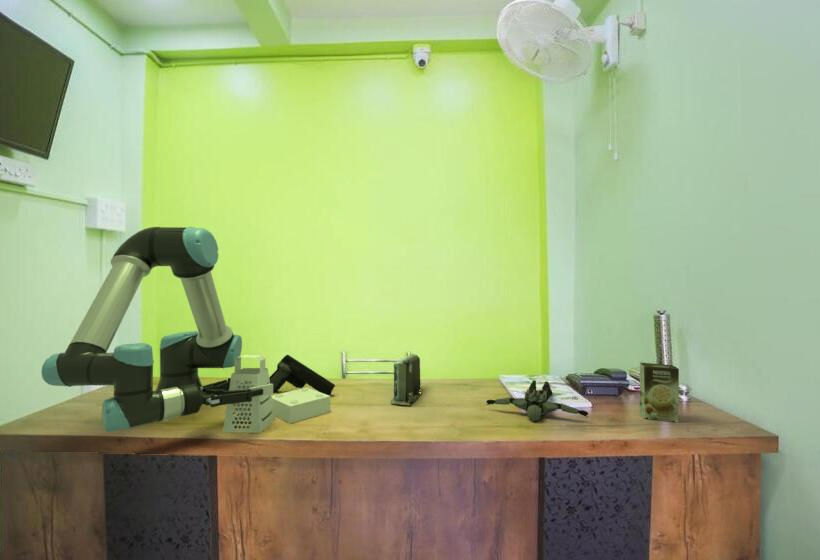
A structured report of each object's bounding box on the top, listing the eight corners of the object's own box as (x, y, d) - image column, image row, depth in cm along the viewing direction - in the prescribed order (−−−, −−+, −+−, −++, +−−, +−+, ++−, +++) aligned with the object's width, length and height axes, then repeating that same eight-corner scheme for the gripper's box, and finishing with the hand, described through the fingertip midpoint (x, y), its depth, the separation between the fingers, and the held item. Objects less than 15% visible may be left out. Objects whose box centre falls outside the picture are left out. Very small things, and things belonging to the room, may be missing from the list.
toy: (498, 390, 147) (482, 422, 120) (498, 369, 147) (481, 396, 119) (585, 400, 136) (589, 437, 108) (585, 377, 135) (589, 408, 108)
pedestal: (268, 412, 122) (268, 395, 122) (306, 402, 133) (306, 386, 133) (290, 423, 113) (290, 405, 113) (330, 411, 123) (330, 395, 123)
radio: (410, 387, 152) (410, 349, 152) (430, 389, 149) (430, 350, 149) (385, 404, 130) (385, 360, 130) (408, 407, 127) (408, 362, 127)
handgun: (314, 421, 140) (333, 386, 138) (262, 385, 144) (279, 351, 143) (317, 418, 142) (335, 384, 141) (265, 384, 146) (283, 350, 145)
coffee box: (643, 419, 117) (643, 366, 117) (638, 412, 123) (638, 362, 123) (679, 422, 114) (679, 368, 114) (672, 415, 120) (672, 364, 120)
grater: (260, 432, 106) (260, 360, 106) (222, 432, 106) (223, 359, 106) (275, 419, 116) (275, 353, 116) (241, 418, 117) (241, 352, 117)
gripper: (167, 405, 106) (246, 389, 122) (195, 428, 90) (282, 406, 106) (167, 378, 106) (246, 366, 122) (195, 396, 90) (282, 379, 106)
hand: (263, 384), depth 114 cm, fingers closed on grater, 11 cm apart
